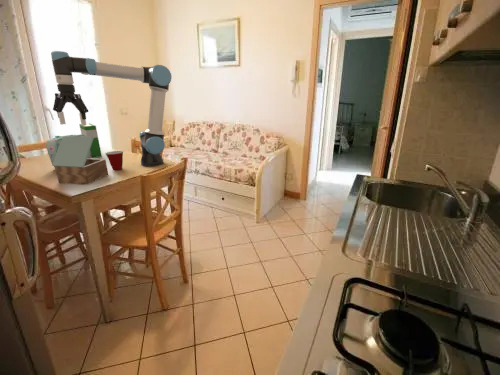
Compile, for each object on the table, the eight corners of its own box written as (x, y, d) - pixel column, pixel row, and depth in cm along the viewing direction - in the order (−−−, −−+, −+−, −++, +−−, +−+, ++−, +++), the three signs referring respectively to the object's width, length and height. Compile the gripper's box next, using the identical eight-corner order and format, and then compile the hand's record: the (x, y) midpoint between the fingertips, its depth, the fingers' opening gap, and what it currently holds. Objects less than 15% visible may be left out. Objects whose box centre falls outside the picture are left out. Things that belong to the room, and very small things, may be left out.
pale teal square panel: (93, 137, 146) (92, 137, 145) (83, 167, 140) (82, 166, 139) (64, 136, 149) (63, 135, 148) (53, 165, 143) (52, 165, 142)
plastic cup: (121, 166, 179) (118, 149, 175) (129, 169, 173) (126, 151, 169) (105, 169, 171) (101, 151, 167) (112, 172, 165) (109, 154, 161)
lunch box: (63, 171, 167) (54, 138, 160) (50, 170, 169) (41, 137, 162) (94, 160, 192) (88, 131, 184) (82, 160, 194) (75, 131, 186)
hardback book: (85, 153, 212) (79, 124, 204) (95, 152, 217) (89, 123, 208) (91, 157, 200) (84, 126, 191) (101, 156, 205) (95, 125, 196)
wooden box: (108, 174, 161) (105, 159, 157) (87, 184, 144) (83, 167, 140) (82, 173, 163) (78, 158, 160) (58, 182, 146) (54, 165, 143)
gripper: (39, 83, 136) (48, 124, 143) (80, 84, 131) (87, 126, 138) (52, 83, 142) (60, 123, 150) (91, 84, 138) (98, 125, 145)
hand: (73, 124), depth 144 cm, fingers open, 13 cm apart
